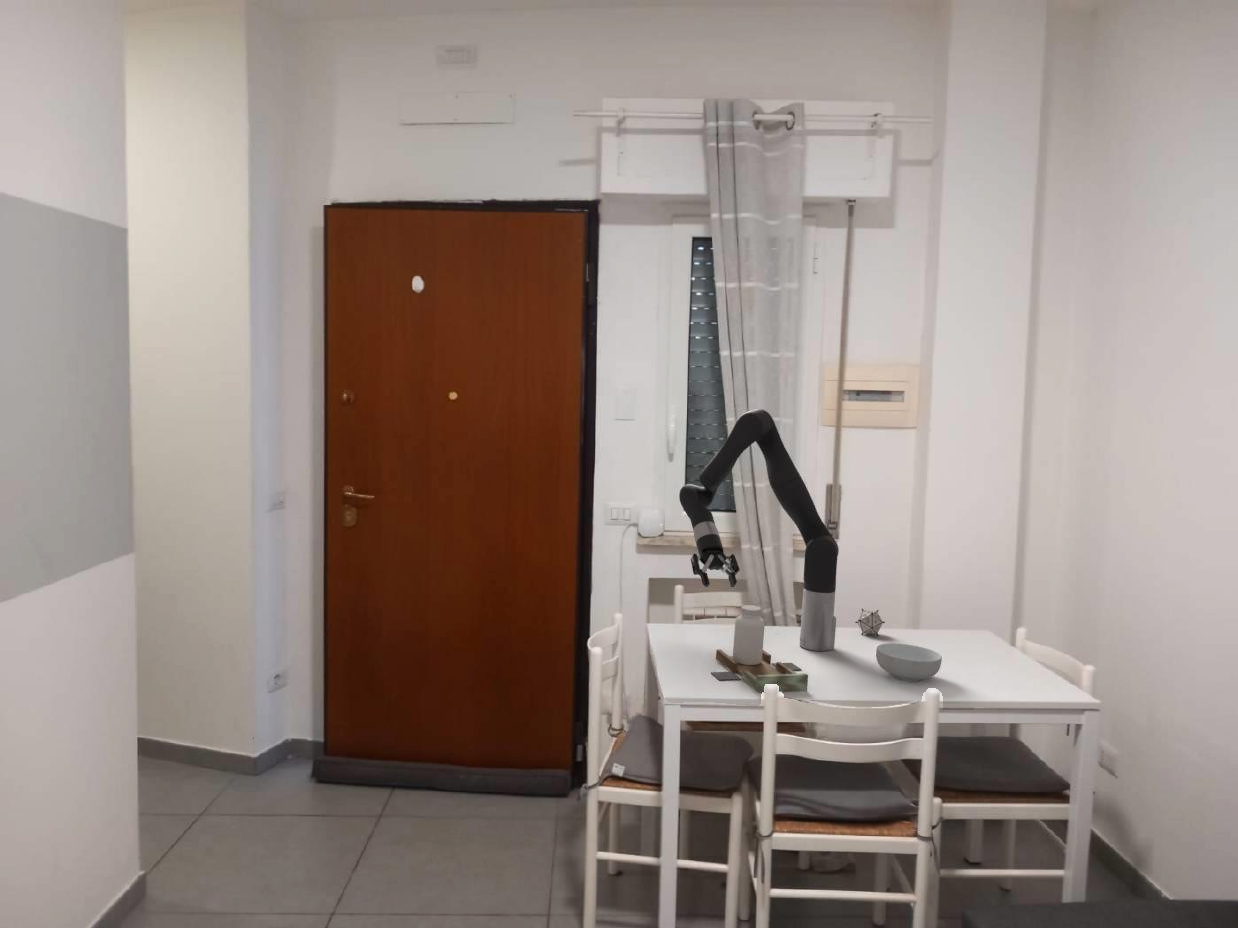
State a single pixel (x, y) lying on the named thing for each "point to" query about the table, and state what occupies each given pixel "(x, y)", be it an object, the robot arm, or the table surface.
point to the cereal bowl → (908, 661)
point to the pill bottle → (748, 636)
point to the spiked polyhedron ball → (870, 622)
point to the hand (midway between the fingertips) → (720, 585)
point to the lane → (763, 673)
